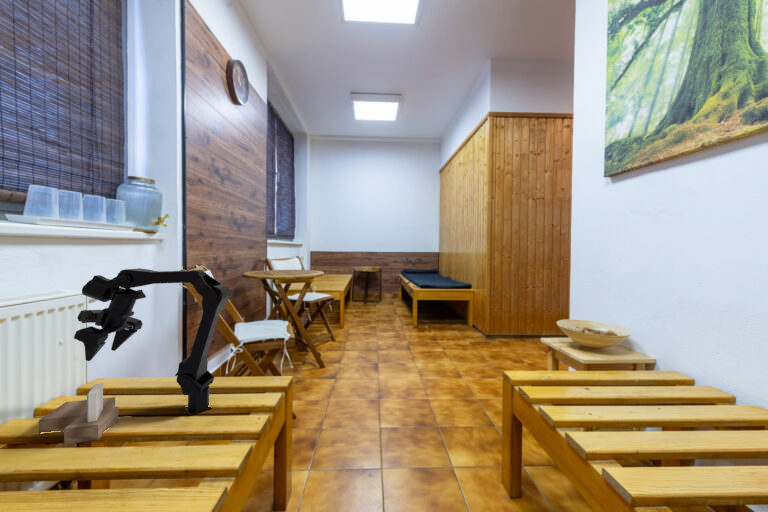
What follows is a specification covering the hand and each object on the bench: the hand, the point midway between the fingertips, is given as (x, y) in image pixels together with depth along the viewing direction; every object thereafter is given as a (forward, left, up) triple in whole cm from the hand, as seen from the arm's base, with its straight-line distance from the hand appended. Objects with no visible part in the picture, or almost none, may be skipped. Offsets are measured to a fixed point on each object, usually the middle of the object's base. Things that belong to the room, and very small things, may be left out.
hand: (101, 355), depth 92 cm
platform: (-7, +4, -17) cm, 19 cm away
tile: (-12, +2, -13) cm, 18 cm away
